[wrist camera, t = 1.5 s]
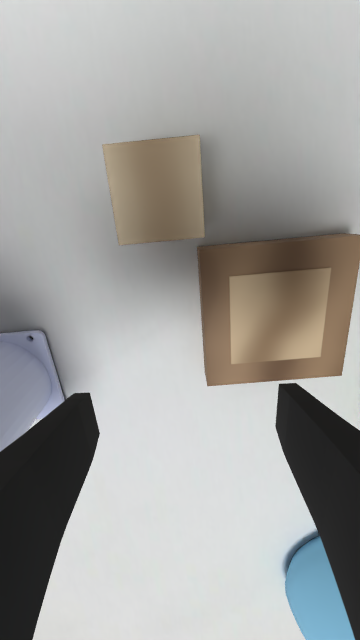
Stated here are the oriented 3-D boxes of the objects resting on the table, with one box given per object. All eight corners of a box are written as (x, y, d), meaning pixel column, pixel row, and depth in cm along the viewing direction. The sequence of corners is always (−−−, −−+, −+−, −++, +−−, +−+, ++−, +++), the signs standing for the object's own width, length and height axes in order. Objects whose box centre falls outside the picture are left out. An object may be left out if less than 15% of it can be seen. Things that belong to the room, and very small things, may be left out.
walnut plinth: (204, 371, 22) (207, 386, 20) (197, 246, 18) (199, 250, 16) (327, 361, 21) (342, 376, 19) (344, 233, 18) (364, 235, 16)
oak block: (137, 237, 18) (118, 245, 12) (127, 170, 16) (102, 144, 11) (196, 231, 18) (204, 237, 12) (191, 163, 16) (199, 134, 11)
